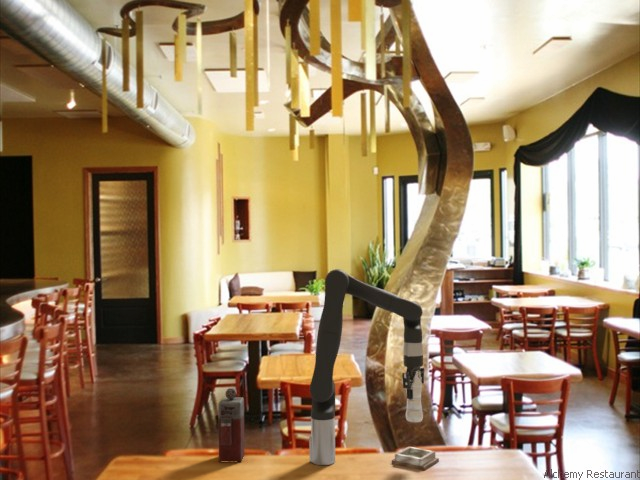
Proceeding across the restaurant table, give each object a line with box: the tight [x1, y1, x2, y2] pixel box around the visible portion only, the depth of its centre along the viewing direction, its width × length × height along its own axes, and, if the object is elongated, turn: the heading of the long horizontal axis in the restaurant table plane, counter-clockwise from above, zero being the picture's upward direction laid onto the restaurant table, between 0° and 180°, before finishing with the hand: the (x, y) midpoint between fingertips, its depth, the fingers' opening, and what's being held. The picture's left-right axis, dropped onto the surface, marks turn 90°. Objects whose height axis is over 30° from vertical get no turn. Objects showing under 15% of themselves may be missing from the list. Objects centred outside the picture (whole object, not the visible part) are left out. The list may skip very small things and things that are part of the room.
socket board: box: [391, 446, 440, 471], centre depth 244 cm, size 14×12×4 cm
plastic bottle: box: [405, 370, 424, 423], centre depth 245 cm, size 6×7×20 cm
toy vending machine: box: [217, 387, 245, 462], centre depth 251 cm, size 9×11×28 cm
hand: (413, 397), depth 245 cm, fingers closed on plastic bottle, 6 cm apart
